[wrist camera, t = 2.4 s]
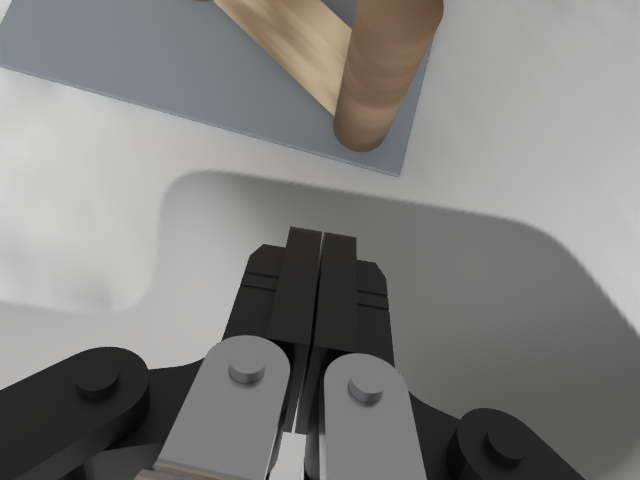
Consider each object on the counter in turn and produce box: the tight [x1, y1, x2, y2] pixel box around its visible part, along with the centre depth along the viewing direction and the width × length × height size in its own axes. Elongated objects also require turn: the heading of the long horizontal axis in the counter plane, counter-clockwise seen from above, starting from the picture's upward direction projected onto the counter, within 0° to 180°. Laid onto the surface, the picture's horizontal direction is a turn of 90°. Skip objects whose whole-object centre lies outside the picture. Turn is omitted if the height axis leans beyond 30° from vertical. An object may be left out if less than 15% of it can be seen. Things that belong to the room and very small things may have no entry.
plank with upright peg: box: [214, 0, 443, 152], centre depth 20 cm, size 12×3×9 cm, turn 45°
